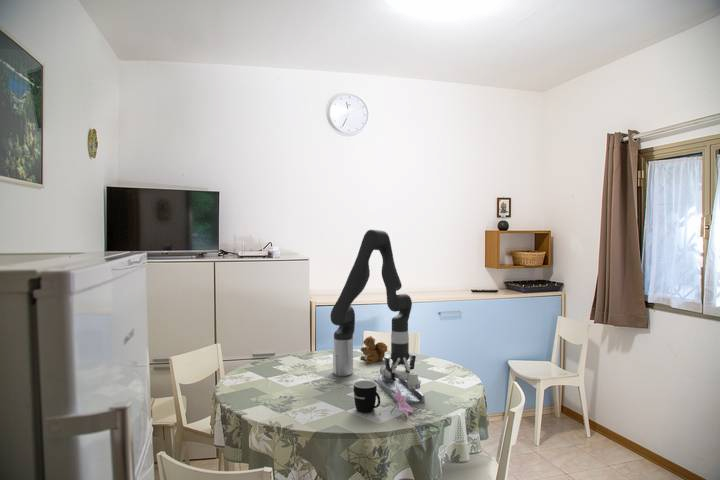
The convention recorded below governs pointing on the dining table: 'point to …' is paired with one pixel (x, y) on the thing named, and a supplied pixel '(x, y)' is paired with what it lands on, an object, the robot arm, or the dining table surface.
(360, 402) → the mug
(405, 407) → the lily
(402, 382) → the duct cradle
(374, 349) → the stuffed squirrel
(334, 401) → the dining table surface
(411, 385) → the electric toothbrush
